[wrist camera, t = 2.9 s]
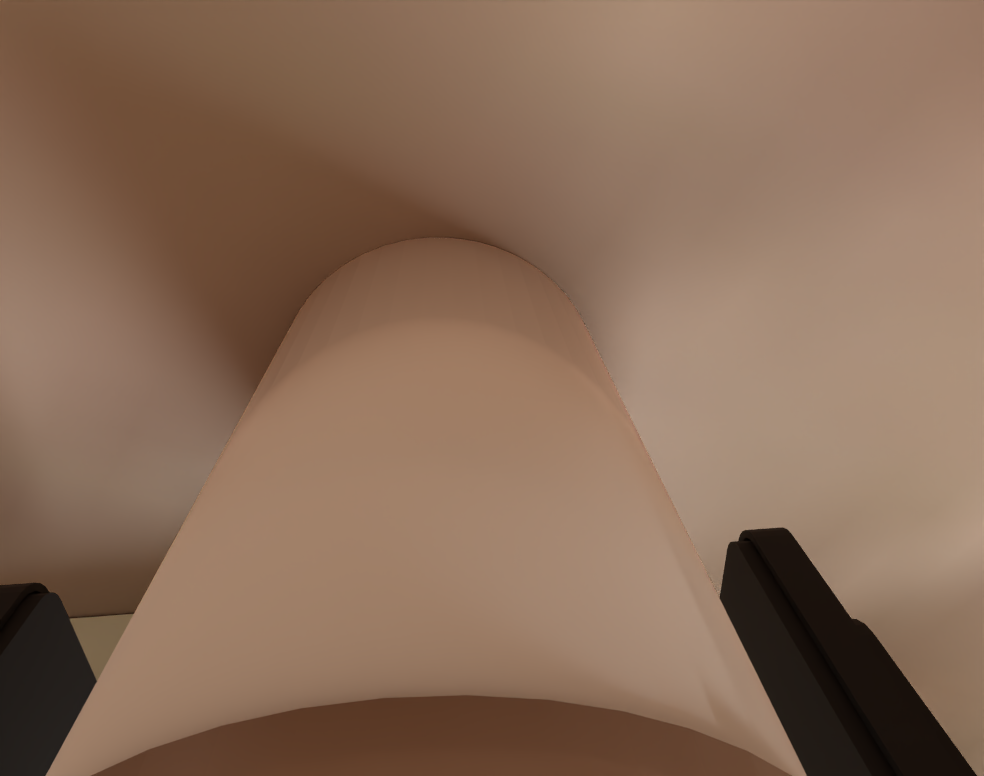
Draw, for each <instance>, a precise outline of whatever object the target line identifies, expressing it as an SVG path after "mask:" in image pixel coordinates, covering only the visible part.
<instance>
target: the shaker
mask: <svg viewBox="0 0 984 776" xmlns="http://www.w3.org/2000/svg"><path fill="white" fill-rule="evenodd" d="M46 776H807V775H806V773H805V771H804V769H803V767H802V765H801V763H800V761H799V758H798V756H797V754H796V752H795V750H794V748H793V746H792V744H791V742H790V740H789V738H788V736H787V734H786V732H785V730H784V728H783V726H782V724H781V722H780V720H779V718H778V716H777V714H776V712H775V710H774V708H773V706H772V704H771V702H770V700H769V698H768V696H767V694H766V692H765V689H764V687H763V685H762V683H761V681H760V679H759V677H758V675H757V673H756V671H755V669H754V667H753V665H752V663H751V661H750V659H749V657H748V655H747V653H746V651H745V649H744V647H743V645H742V643H741V641H740V639H739V637H738V635H737V633H736V631H735V629H734V627H733V625H732V623H731V621H730V618H729V616H728V614H727V612H726V610H725V608H724V606H723V604H722V602H721V600H720V598H719V596H718V594H717V592H716V590H715V588H714V586H713V584H712V582H711V580H710V578H709V576H708V574H707V572H706V570H705V568H704V566H703V564H702V562H701V560H700V558H699V556H698V554H697V552H696V550H695V547H694V545H693V543H692V541H691V539H690V537H689V535H688V533H687V531H686V529H685V527H684V525H683V523H682V521H681V519H680V517H679V515H678V513H677V511H676V509H675V507H674V505H673V503H672V501H671V499H670V497H669V495H668V493H667V491H666V489H665V487H664V485H663V483H662V481H661V478H660V476H659V474H658V472H657V470H656V468H655V466H654V464H653V462H652V460H651V458H650V456H649V454H648V452H647V450H646V448H645V446H644V444H643V442H642V440H641V438H640V436H639V434H638V432H637V430H636V428H635V426H634V424H633V422H632V420H631V418H630V416H629V414H628V412H627V410H626V407H625V405H624V403H623V401H622V399H621V397H620V395H619V393H618V391H617V389H616V387H615V385H614V383H613V381H612V379H611V377H610V375H609V373H608V371H607V369H606V367H605V365H604V363H603V361H602V359H601V357H600V355H599V353H598V351H597V349H596V347H595V345H594V343H593V341H592V339H591V336H590V334H589V332H588V330H587V328H586V326H585V324H584V323H583V321H582V319H581V317H580V315H579V313H578V311H577V310H576V308H575V307H574V305H573V304H572V303H571V301H570V300H569V298H568V297H567V296H566V294H565V293H564V292H563V291H562V290H561V289H560V288H559V287H558V286H557V285H556V284H555V283H554V282H553V281H552V280H551V279H550V278H549V277H547V276H546V275H545V274H544V273H542V272H541V271H540V270H539V269H537V268H536V267H535V266H533V265H531V264H530V263H528V262H526V261H525V260H523V259H521V258H519V257H518V256H516V255H514V254H511V253H509V252H507V251H504V250H502V249H499V248H497V247H494V246H491V245H487V244H483V243H480V242H476V241H471V240H464V239H457V238H431V237H428V238H420V239H411V240H404V241H400V242H396V243H393V244H389V245H385V246H382V247H379V248H377V249H374V250H372V251H369V252H367V253H364V254H362V255H360V256H359V257H357V258H355V259H353V260H352V261H350V262H348V263H346V264H345V265H343V266H342V267H340V268H339V269H338V270H336V271H335V272H334V273H333V274H331V275H330V276H329V277H327V278H326V279H325V280H324V281H323V282H322V283H321V284H320V285H319V286H318V287H317V288H316V289H315V290H314V291H313V292H312V294H311V295H310V296H309V298H308V299H307V300H306V302H305V303H304V305H303V306H302V307H301V309H300V310H299V312H298V314H297V316H296V317H295V319H294V321H293V323H292V325H291V327H290V328H289V330H288V332H287V334H286V336H285V338H284V339H283V341H282V343H281V345H280V347H279V349H278V350H277V352H276V354H275V356H274V358H273V360H272V361H271V363H270V365H269V367H268V369H267V371H266V372H265V374H264V376H263V378H262V380H261V382H260V383H259V385H258V387H257V389H256V391H255V393H254V394H253V396H252V398H251V400H250V402H249V404H248V405H247V407H246V409H245V411H244V413H243V415H242V416H241V418H240V420H239V422H238V424H237V426H236V427H235V429H234V431H233V433H232V435H231V437H230V438H229V440H228V442H227V444H226V446H225V448H224V449H223V451H222V453H221V455H220V457H219V459H218V460H217V462H216V464H215V466H214V468H213V470H212V471H211V473H210V475H209V477H208V479H207V481H206V483H205V484H204V486H203V488H202V490H201V492H200V494H199V495H198V497H197V499H196V501H195V503H194V505H193V506H192V508H191V510H190V512H189V514H188V516H187V517H186V519H185V521H184V523H183V525H182V527H181V528H180V530H179V532H178V534H177V536H176V538H175V539H174V541H173V543H172V545H171V547H170V549H169V550H168V552H167V554H166V556H165V558H164V560H163V561H162V563H161V565H160V567H159V569H158V571H157V572H156V574H155V576H154V578H153V580H152V582H151V583H150V585H149V587H148V589H147V591H146V593H145V594H144V596H143V598H142V600H141V602H140V604H139V605H138V607H137V609H136V611H135V613H134V615H133V616H132V618H131V620H130V622H129V624H128V626H127V627H126V629H125V631H124V633H123V635H122V637H121V638H120V640H119V642H118V644H117V646H116V648H115V649H114V651H113V653H112V655H111V657H110V659H109V660H108V662H107V664H106V666H105V668H104V670H103V671H102V673H101V675H100V677H99V679H98V681H97V682H96V684H95V686H94V688H93V690H92V692H91V693H90V695H89V697H88V699H87V701H86V703H85V704H84V706H83V708H82V710H81V712H80V714H79V715H78V717H77V719H76V721H75V723H74V725H73V726H72V728H71V730H70V732H69V734H68V736H67V737H66V739H65V741H64V743H63V745H62V747H61V748H60V750H59V752H58V754H57V756H56V758H55V760H54V761H53V763H52V765H51V767H50V769H49V771H48V772H47V774H46Z"/></svg>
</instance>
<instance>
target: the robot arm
mask: <svg viewBox="0 0 984 776" xmlns="http://www.w3.org/2000/svg"><path fill="white" fill-rule="evenodd" d="M720 600H721V602H722V604H723V606H724V608H725V610H726V612H727V614H728V616H729V618H730V621H731V623H732V625H733V627H734V629H735V631H736V633H737V635H738V637H739V639H740V641H741V643H742V645H743V647H744V649H745V651H746V653H747V655H748V657H749V659H750V661H751V663H752V665H753V667H754V669H755V671H756V673H757V675H758V677H759V679H760V681H761V683H762V685H763V687H764V689H765V692H766V694H767V696H768V698H769V700H770V702H771V704H772V706H773V708H774V710H775V712H776V714H777V716H778V718H779V720H780V722H781V724H782V726H783V728H784V730H785V732H786V734H787V736H788V738H789V740H790V742H791V744H792V746H793V748H794V750H795V752H796V754H797V756H798V758H799V761H800V763H801V765H802V767H803V769H804V771H805V773H806V775H807V776H977V775H976V774H975V772H974V771H973V770H972V768H971V767H970V766H969V764H968V763H967V761H966V760H965V759H964V757H963V756H962V755H961V753H960V752H959V750H958V749H957V748H956V746H955V745H954V744H953V742H952V741H951V739H950V738H949V737H948V735H947V734H946V733H945V731H944V730H943V728H942V727H941V726H940V724H939V723H938V721H937V720H936V719H935V717H934V716H933V715H932V713H931V712H930V710H929V709H928V708H927V706H926V705H925V704H924V702H923V701H922V699H921V698H920V697H919V695H918V694H917V693H916V691H915V690H914V688H913V687H912V686H911V684H910V683H909V682H908V680H907V679H906V677H905V676H904V675H903V673H902V672H901V671H900V669H899V668H898V666H897V665H896V664H895V662H894V661H893V660H892V658H891V657H890V655H889V654H888V653H887V651H886V650H885V648H884V647H883V646H882V644H881V643H880V642H879V640H878V639H877V637H876V636H875V635H874V634H873V632H872V631H871V630H870V629H869V628H868V627H867V626H866V625H865V624H864V623H862V622H860V621H859V620H857V619H851V617H850V616H849V615H848V613H847V612H846V610H845V609H844V608H843V606H842V605H841V603H840V602H839V600H838V599H837V598H836V596H835V595H834V593H833V592H832V591H831V589H830V588H829V586H828V585H827V583H826V582H825V581H824V579H823V578H822V576H821V575H820V574H819V572H818V571H817V569H816V568H815V566H814V565H813V564H812V562H811V561H810V559H809V558H808V557H807V555H806V554H805V552H804V551H803V549H802V548H801V547H800V545H799V544H798V542H797V541H796V540H795V538H794V537H793V535H792V534H791V533H790V532H789V531H788V530H787V529H785V528H770V529H756V530H745V531H743V532H742V533H741V534H740V537H739V541H735V542H730V544H729V545H728V549H727V555H726V561H725V568H724V574H723V580H722V587H721V593H720ZM96 682H97V680H96V678H95V675H94V673H93V671H92V669H91V666H90V664H89V662H88V660H87V657H86V655H85V653H84V651H83V649H82V646H81V644H80V642H79V640H78V637H77V635H76V633H75V631H74V628H73V626H72V624H71V622H70V619H69V617H68V615H67V613H66V610H65V608H64V606H63V604H62V601H61V599H60V598H59V596H58V595H57V594H55V593H49V591H48V590H47V588H46V587H45V586H44V585H42V584H41V583H26V584H13V585H0V776H46V774H47V772H48V771H49V769H50V767H51V765H52V763H53V761H54V760H55V758H56V756H57V754H58V752H59V750H60V748H61V747H62V745H63V743H64V741H65V739H66V737H67V736H68V734H69V732H70V730H71V728H72V726H73V725H74V723H75V721H76V719H77V717H78V715H79V714H80V712H81V710H82V708H83V706H84V704H85V703H86V701H87V699H88V697H89V695H90V693H91V692H92V690H93V688H94V686H95V684H96Z"/></svg>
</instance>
